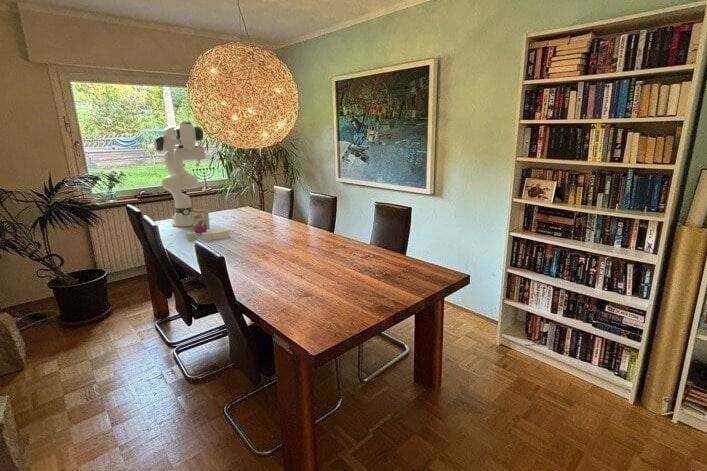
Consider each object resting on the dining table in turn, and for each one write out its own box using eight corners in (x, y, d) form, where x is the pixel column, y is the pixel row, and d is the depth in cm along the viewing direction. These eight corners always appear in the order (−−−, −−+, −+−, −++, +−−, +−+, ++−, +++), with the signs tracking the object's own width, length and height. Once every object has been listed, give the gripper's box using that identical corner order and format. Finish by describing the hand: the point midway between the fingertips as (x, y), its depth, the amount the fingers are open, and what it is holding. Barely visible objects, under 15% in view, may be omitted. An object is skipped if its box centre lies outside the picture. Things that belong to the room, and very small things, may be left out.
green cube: (187, 239, 246) (186, 232, 245) (194, 238, 249) (193, 231, 248) (189, 241, 242) (188, 234, 241) (196, 239, 245) (196, 232, 244)
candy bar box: (192, 232, 264) (190, 210, 259) (196, 230, 269) (193, 209, 264) (207, 232, 263) (204, 210, 258) (210, 231, 268) (208, 209, 263)
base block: (206, 236, 255) (206, 229, 254) (223, 233, 262) (222, 227, 261) (212, 240, 246) (212, 233, 245) (229, 237, 254) (229, 230, 252)
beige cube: (202, 239, 246) (201, 232, 245) (209, 238, 249) (209, 231, 248) (204, 241, 242) (204, 234, 241) (212, 240, 245) (211, 233, 244)
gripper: (202, 145, 254) (204, 165, 258) (171, 145, 242) (174, 166, 245) (205, 145, 250) (207, 166, 254) (174, 146, 237) (176, 167, 241)
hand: (190, 166), depth 249 cm, fingers open, 8 cm apart
